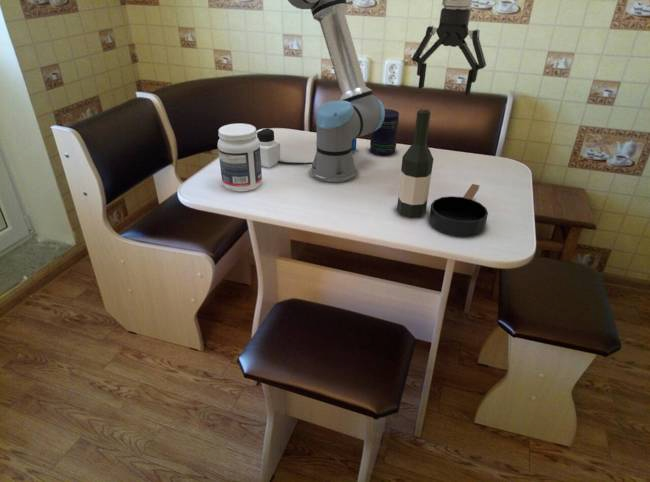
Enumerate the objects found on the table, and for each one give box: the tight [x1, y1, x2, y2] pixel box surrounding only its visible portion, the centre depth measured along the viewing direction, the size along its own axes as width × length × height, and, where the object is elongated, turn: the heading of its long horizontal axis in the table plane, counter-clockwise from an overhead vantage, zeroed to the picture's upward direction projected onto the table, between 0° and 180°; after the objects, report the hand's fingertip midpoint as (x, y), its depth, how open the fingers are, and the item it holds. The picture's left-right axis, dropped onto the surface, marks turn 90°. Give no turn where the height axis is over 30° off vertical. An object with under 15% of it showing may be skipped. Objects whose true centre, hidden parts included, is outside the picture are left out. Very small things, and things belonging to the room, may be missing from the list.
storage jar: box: [369, 108, 400, 157], centre depth 169 cm, size 10×10×15 cm
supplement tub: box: [217, 123, 263, 192], centre depth 142 cm, size 13×13×18 cm
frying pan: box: [428, 183, 489, 238], centre depth 130 cm, size 26×15×5 cm, turn 150°
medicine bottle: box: [256, 127, 282, 169], centre depth 159 cm, size 7×7×12 cm
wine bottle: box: [396, 106, 434, 219], centre depth 125 cm, size 8×8×30 cm
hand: (443, 90), depth 130 cm, fingers open, 13 cm apart
